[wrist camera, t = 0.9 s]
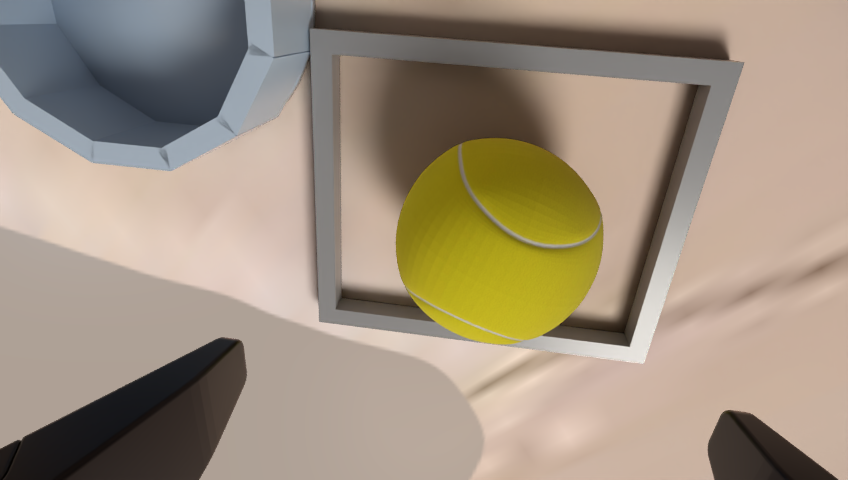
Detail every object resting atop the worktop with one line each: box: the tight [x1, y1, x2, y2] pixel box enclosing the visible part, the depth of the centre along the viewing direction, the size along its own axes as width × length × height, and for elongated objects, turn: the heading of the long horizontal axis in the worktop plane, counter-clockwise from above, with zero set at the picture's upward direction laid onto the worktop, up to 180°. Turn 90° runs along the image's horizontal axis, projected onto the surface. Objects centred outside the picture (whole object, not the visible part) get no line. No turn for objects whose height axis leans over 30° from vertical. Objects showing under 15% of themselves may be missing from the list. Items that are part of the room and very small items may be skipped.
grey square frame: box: [310, 28, 744, 364], centre depth 20 cm, size 15×13×1 cm
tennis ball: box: [396, 138, 603, 345], centre depth 17 cm, size 7×7×7 cm
